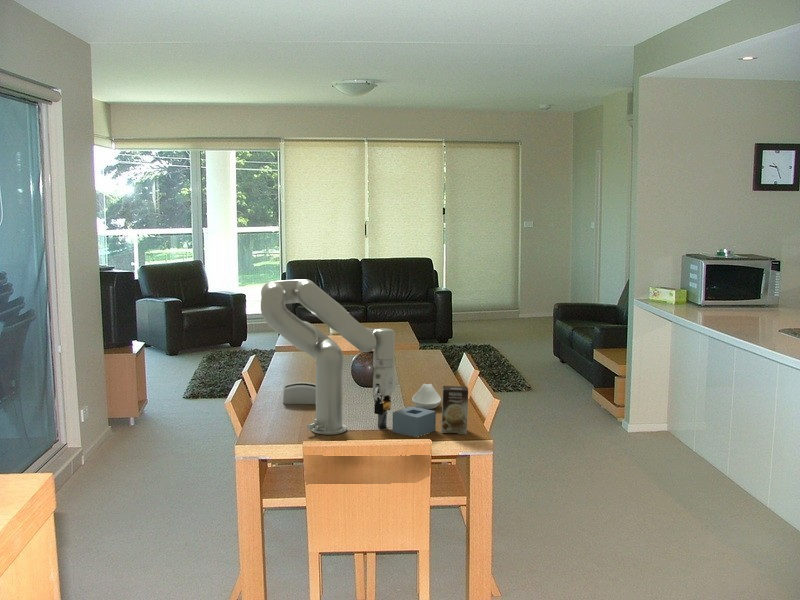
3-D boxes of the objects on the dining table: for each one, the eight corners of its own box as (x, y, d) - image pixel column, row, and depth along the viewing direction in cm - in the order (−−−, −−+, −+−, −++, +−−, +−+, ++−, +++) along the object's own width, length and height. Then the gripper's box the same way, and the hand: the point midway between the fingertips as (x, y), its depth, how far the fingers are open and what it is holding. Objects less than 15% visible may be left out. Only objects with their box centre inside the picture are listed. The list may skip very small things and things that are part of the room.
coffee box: (441, 434, 274) (442, 389, 272) (441, 428, 280) (442, 385, 278) (467, 434, 273) (468, 390, 272) (466, 429, 280) (467, 385, 278)
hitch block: (417, 437, 269) (417, 417, 268) (392, 432, 276) (392, 412, 275) (435, 430, 278) (435, 411, 277) (410, 425, 284) (411, 406, 283)
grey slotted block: (325, 401, 318) (324, 380, 313) (323, 407, 313) (322, 386, 309) (284, 400, 318) (282, 379, 314) (282, 407, 314) (280, 386, 309)
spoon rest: (441, 412, 303) (441, 394, 302) (411, 411, 304) (411, 393, 303) (440, 397, 327) (440, 380, 326) (412, 396, 327) (413, 380, 326)
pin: (383, 429, 277) (384, 405, 276) (370, 426, 280) (371, 402, 279) (393, 426, 281) (394, 402, 280) (380, 423, 285) (381, 399, 284)
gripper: (383, 368, 269) (382, 419, 271) (402, 359, 285) (401, 407, 287) (364, 366, 272) (363, 416, 274) (383, 357, 287) (382, 405, 290)
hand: (382, 411), depth 280 cm, fingers closed on pin, 6 cm apart
